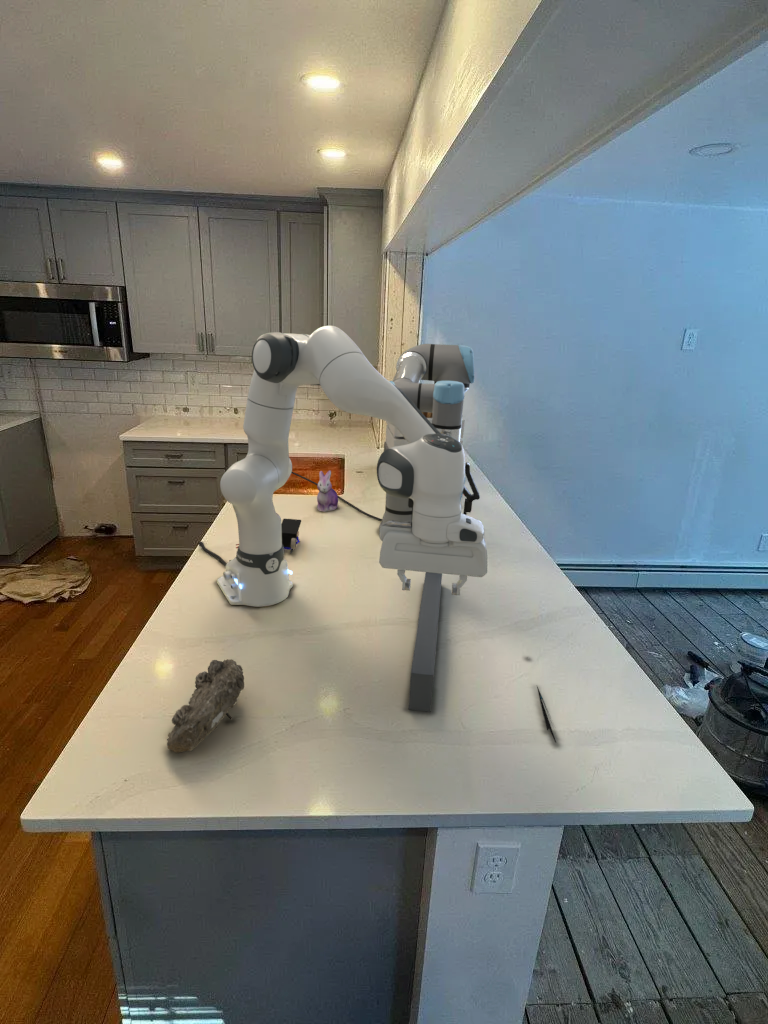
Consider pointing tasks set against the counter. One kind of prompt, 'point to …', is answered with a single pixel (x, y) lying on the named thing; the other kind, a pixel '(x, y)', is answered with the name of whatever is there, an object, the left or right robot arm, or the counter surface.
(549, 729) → the feather
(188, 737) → the fossil
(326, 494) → the figurine
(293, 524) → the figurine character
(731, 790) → the counter surface
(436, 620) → the bar
